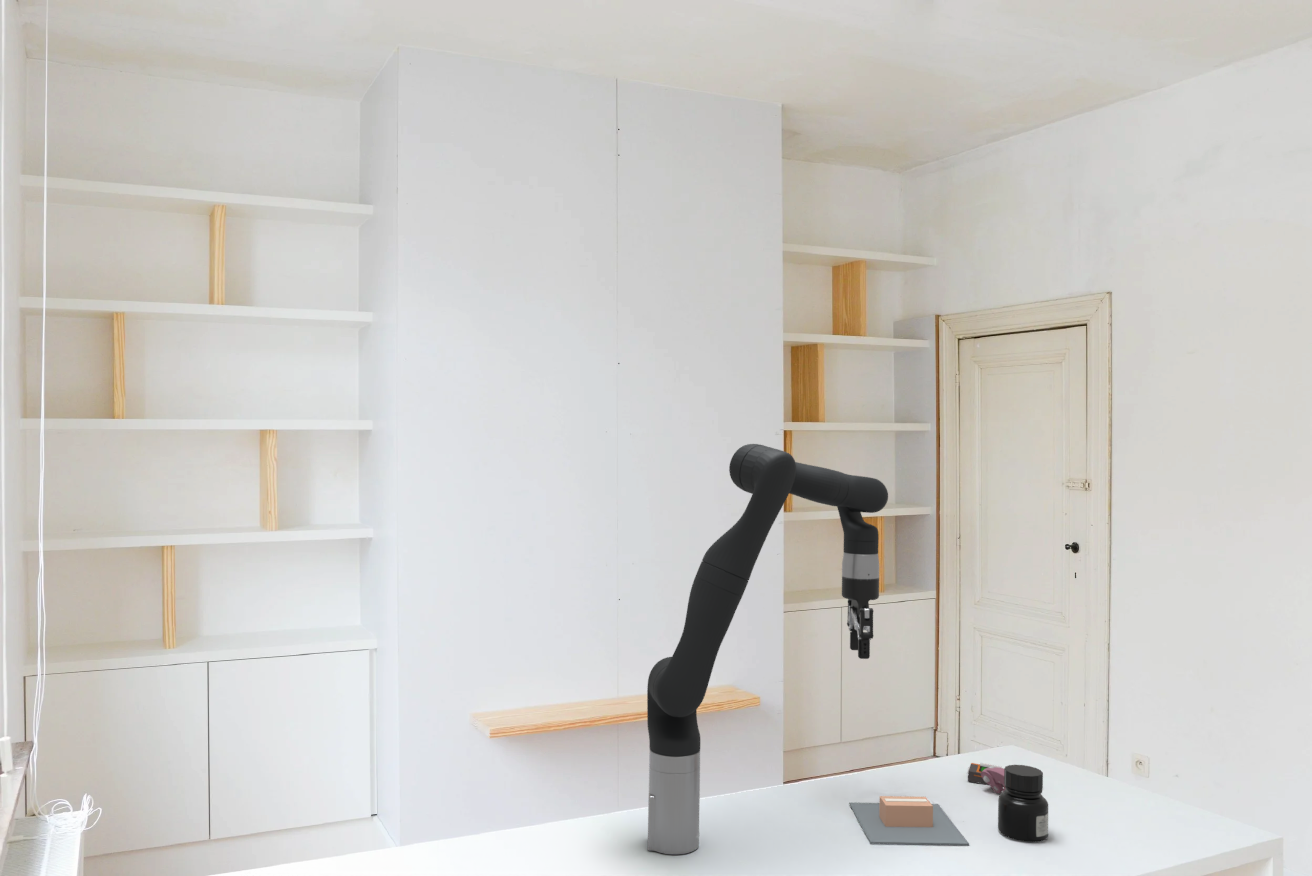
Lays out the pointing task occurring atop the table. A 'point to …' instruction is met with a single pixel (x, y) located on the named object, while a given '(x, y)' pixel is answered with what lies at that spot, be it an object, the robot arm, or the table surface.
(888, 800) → the box
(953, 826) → the mat
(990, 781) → the video game controller
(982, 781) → the electronic device
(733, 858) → the table surface
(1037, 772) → the ink bottle
